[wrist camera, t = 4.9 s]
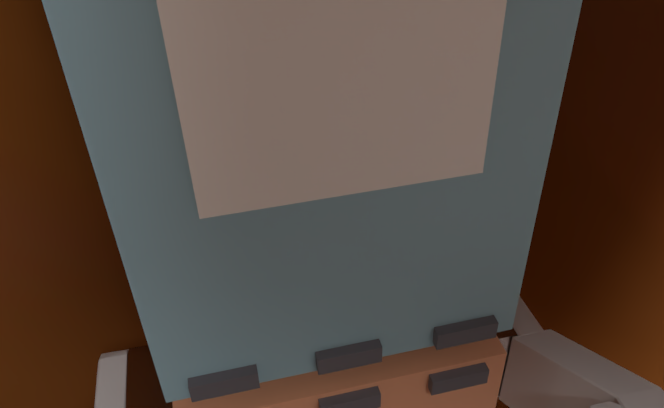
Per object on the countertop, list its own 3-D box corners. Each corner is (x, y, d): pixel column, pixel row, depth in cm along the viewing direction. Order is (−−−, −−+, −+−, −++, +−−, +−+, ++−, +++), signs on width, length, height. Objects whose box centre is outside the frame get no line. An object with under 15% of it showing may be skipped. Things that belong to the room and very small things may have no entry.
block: (197, 345, 15) (215, 568, 11) (165, 214, 12) (173, 436, 8) (395, 306, 16) (481, 499, 12) (401, 176, 13) (511, 361, 9)
